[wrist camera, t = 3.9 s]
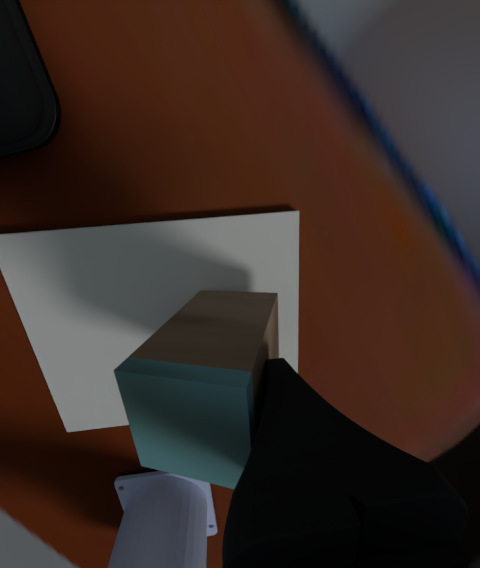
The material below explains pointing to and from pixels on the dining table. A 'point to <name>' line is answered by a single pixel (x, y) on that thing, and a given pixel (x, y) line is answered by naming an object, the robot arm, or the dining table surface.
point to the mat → (137, 294)
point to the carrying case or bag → (24, 87)
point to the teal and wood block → (202, 385)
